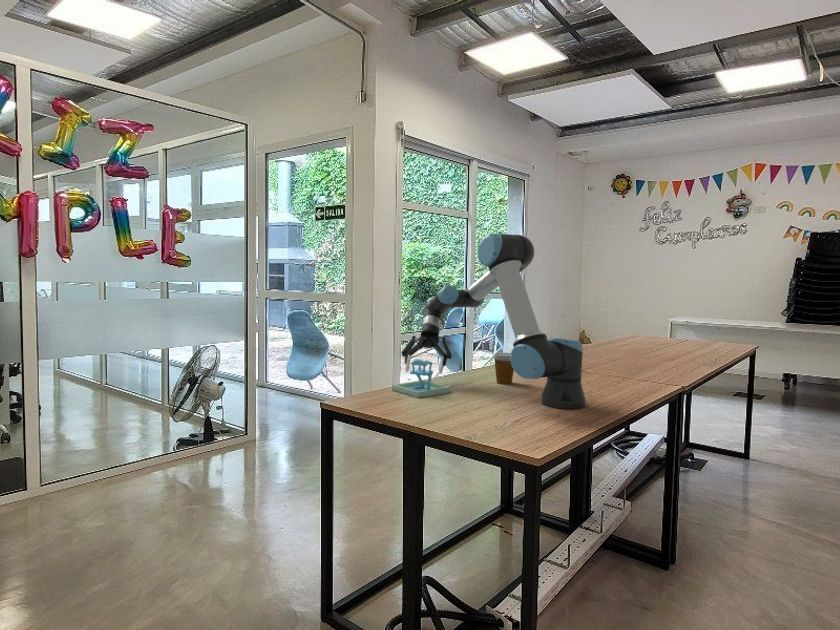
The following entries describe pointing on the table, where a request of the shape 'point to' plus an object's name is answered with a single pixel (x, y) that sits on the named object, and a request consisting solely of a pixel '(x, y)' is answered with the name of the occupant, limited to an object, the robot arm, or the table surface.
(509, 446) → the table surface
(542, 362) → the robot arm
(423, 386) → the chair
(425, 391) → the tray
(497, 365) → the disposable coffee cup
